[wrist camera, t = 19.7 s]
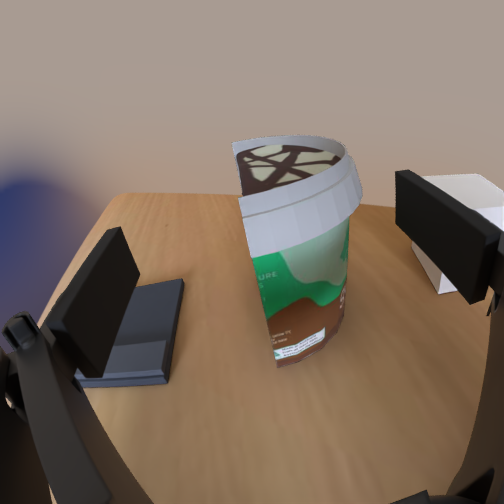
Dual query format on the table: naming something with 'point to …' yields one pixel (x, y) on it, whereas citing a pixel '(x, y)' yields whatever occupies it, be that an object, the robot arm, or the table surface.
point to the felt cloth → (143, 338)
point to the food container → (298, 235)
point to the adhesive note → (474, 197)
